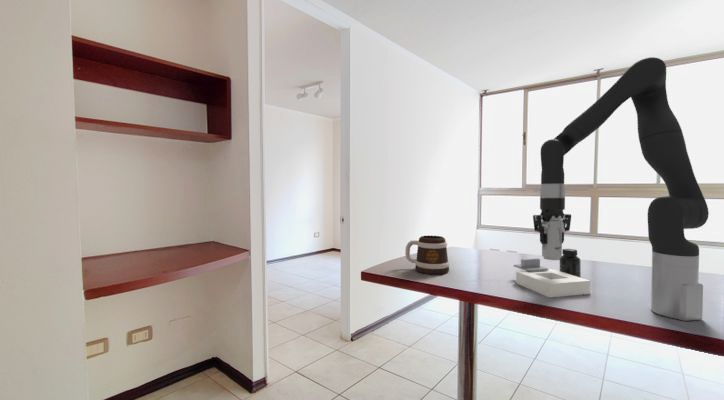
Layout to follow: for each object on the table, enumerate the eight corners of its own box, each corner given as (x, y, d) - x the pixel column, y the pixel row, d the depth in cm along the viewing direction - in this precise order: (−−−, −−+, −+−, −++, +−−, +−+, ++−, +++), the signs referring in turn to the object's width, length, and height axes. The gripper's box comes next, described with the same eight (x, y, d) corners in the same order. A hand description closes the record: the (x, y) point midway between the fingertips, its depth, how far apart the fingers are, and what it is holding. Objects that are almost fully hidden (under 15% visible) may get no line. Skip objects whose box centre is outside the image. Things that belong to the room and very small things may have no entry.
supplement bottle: (574, 277, 123) (574, 248, 122) (584, 283, 116) (585, 251, 115) (555, 277, 123) (556, 248, 123) (565, 282, 116) (565, 251, 116)
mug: (452, 268, 139) (452, 235, 138) (445, 277, 125) (445, 240, 125) (410, 264, 148) (410, 233, 148) (399, 271, 135) (399, 237, 134)
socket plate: (590, 293, 103) (590, 280, 103) (549, 297, 100) (549, 283, 100) (552, 280, 119) (552, 269, 119) (516, 283, 116) (516, 271, 116)
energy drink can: (560, 261, 105) (560, 218, 105) (540, 259, 109) (540, 217, 109) (563, 258, 110) (563, 216, 110) (543, 256, 114) (544, 216, 114)
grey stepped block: (548, 270, 116) (548, 260, 116) (528, 271, 115) (529, 261, 114) (532, 265, 124) (532, 256, 124) (513, 266, 123) (513, 257, 123)
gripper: (561, 196, 114) (560, 241, 114) (527, 196, 111) (526, 242, 112) (578, 196, 107) (578, 244, 107) (542, 197, 104) (542, 246, 104)
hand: (551, 243), depth 109 cm, fingers closed on energy drink can, 6 cm apart
